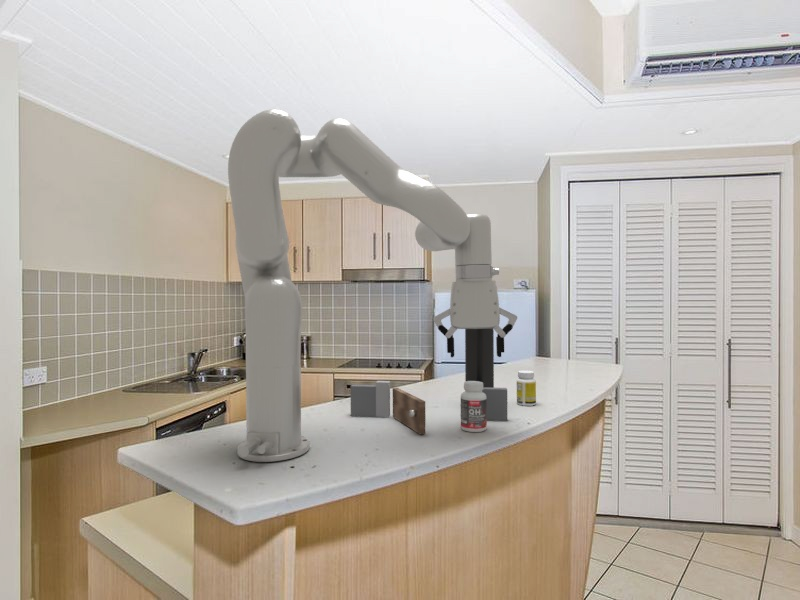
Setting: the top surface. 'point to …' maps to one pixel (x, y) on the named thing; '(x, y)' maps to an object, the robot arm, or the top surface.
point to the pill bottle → (473, 407)
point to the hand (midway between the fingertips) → (475, 356)
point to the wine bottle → (479, 356)
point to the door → (409, 410)
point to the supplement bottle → (526, 388)
